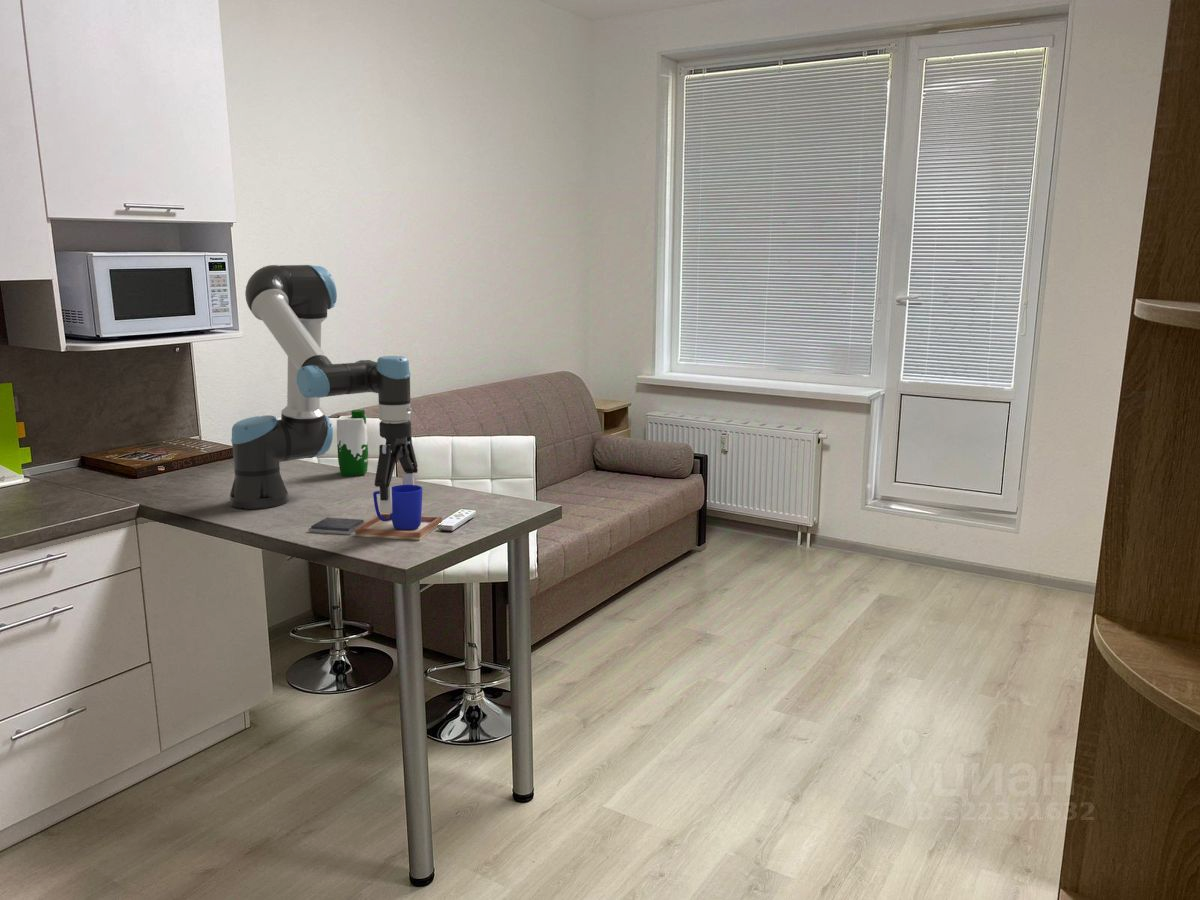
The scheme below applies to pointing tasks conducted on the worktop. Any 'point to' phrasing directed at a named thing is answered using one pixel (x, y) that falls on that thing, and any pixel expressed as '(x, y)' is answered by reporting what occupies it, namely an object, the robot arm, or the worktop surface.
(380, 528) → the sand box
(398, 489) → the mug
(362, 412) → the milk carton
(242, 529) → the worktop surface
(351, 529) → the ink pad
